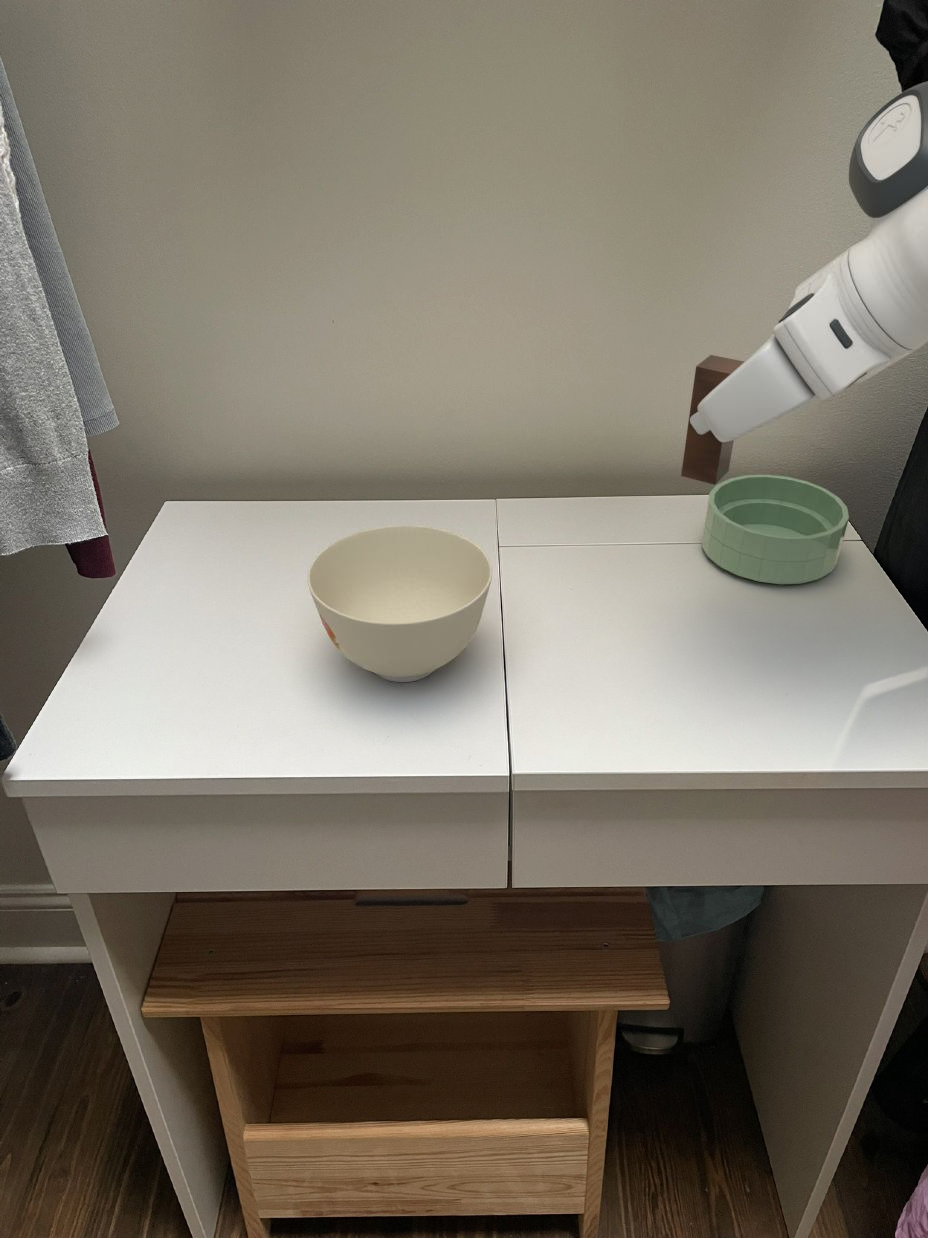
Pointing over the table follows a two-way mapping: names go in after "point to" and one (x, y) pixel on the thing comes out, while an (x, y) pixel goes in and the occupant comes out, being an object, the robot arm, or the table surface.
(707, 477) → the block
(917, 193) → the robot arm
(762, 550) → the dish
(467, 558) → the bowl
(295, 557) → the table surface
